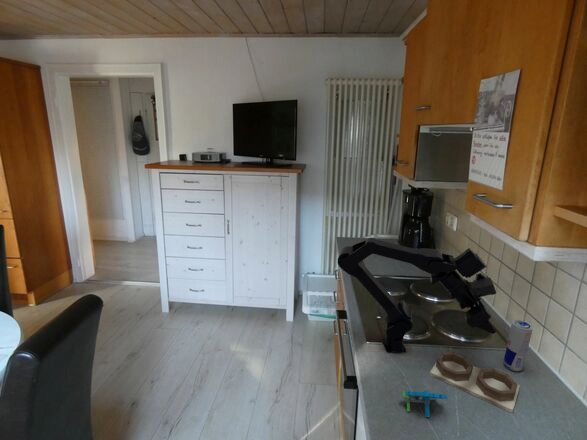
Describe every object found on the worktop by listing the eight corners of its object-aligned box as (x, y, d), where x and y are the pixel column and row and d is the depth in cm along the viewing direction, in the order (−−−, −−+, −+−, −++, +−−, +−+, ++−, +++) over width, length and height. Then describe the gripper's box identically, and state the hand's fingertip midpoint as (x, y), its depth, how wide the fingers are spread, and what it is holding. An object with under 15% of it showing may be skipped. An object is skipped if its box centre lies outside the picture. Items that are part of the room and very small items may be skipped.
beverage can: (513, 360, 107) (523, 318, 103) (526, 371, 102) (537, 328, 98) (499, 362, 106) (508, 319, 102) (511, 373, 102) (521, 330, 97)
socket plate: (429, 374, 101) (430, 365, 100) (441, 355, 109) (443, 346, 108) (512, 413, 88) (514, 402, 87) (519, 388, 96) (521, 377, 95)
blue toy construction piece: (445, 393, 92) (448, 391, 84) (447, 419, 90) (450, 419, 81) (402, 389, 96) (400, 387, 87) (402, 414, 93) (401, 413, 85)
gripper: (487, 285, 90) (527, 328, 91) (473, 257, 107) (506, 294, 108) (450, 307, 95) (488, 348, 95) (443, 277, 112) (475, 312, 112)
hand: (490, 323), depth 102 cm, fingers open, 9 cm apart
